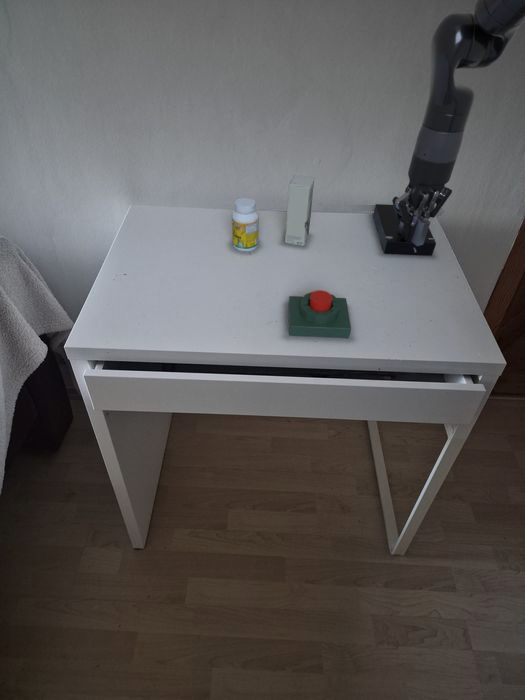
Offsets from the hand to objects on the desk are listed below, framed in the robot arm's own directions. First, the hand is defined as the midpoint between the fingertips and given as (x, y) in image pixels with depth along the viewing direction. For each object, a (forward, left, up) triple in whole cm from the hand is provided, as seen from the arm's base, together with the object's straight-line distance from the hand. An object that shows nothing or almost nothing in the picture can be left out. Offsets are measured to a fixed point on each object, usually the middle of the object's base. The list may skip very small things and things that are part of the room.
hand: (410, 238), depth 91 cm
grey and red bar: (0, 0, 0) cm, 0 cm away
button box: (+6, +30, -3) cm, 31 cm away
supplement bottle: (+30, +16, -3) cm, 34 cm away
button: (+6, +30, +1) cm, 31 cm away
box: (+22, +8, -3) cm, 24 cm away
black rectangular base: (+2, -4, -3) cm, 6 cm away
